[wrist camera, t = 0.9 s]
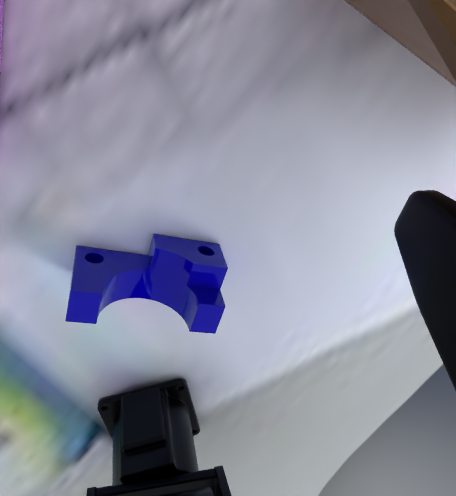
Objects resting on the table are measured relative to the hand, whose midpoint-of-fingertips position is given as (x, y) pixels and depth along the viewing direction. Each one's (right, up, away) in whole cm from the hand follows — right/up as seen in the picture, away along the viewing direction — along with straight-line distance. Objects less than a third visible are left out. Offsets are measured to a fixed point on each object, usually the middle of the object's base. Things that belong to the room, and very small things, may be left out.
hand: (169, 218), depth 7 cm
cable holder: (-4, -1, +19) cm, 19 cm away
